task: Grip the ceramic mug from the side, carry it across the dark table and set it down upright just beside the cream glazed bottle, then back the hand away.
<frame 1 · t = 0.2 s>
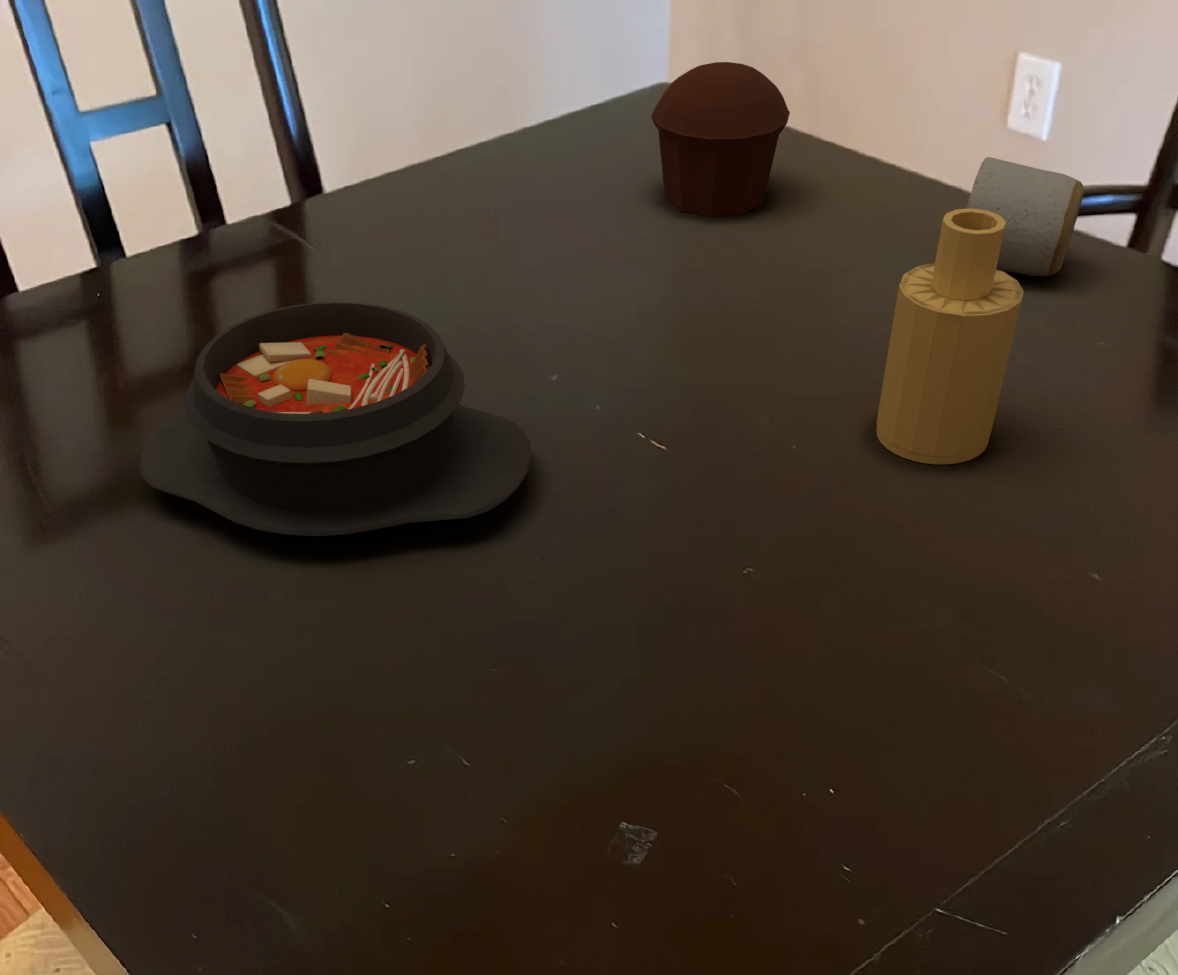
bottle: (931, 435, 90), on the table
muffin: (715, 198, 117), on the table
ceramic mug: (1007, 263, 108), on the table
casserole: (340, 482, 87), on the table
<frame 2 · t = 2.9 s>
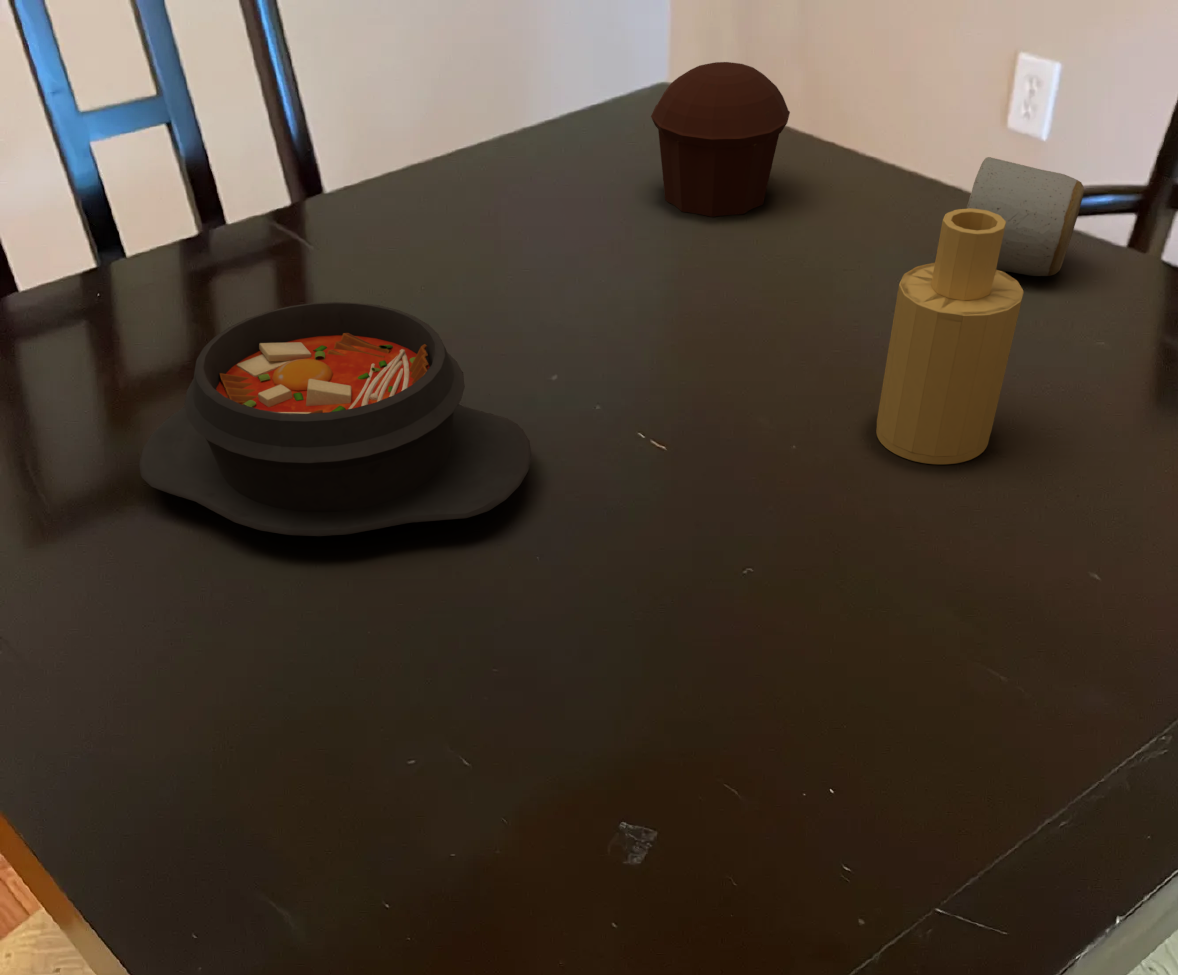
nothing on the table moved.
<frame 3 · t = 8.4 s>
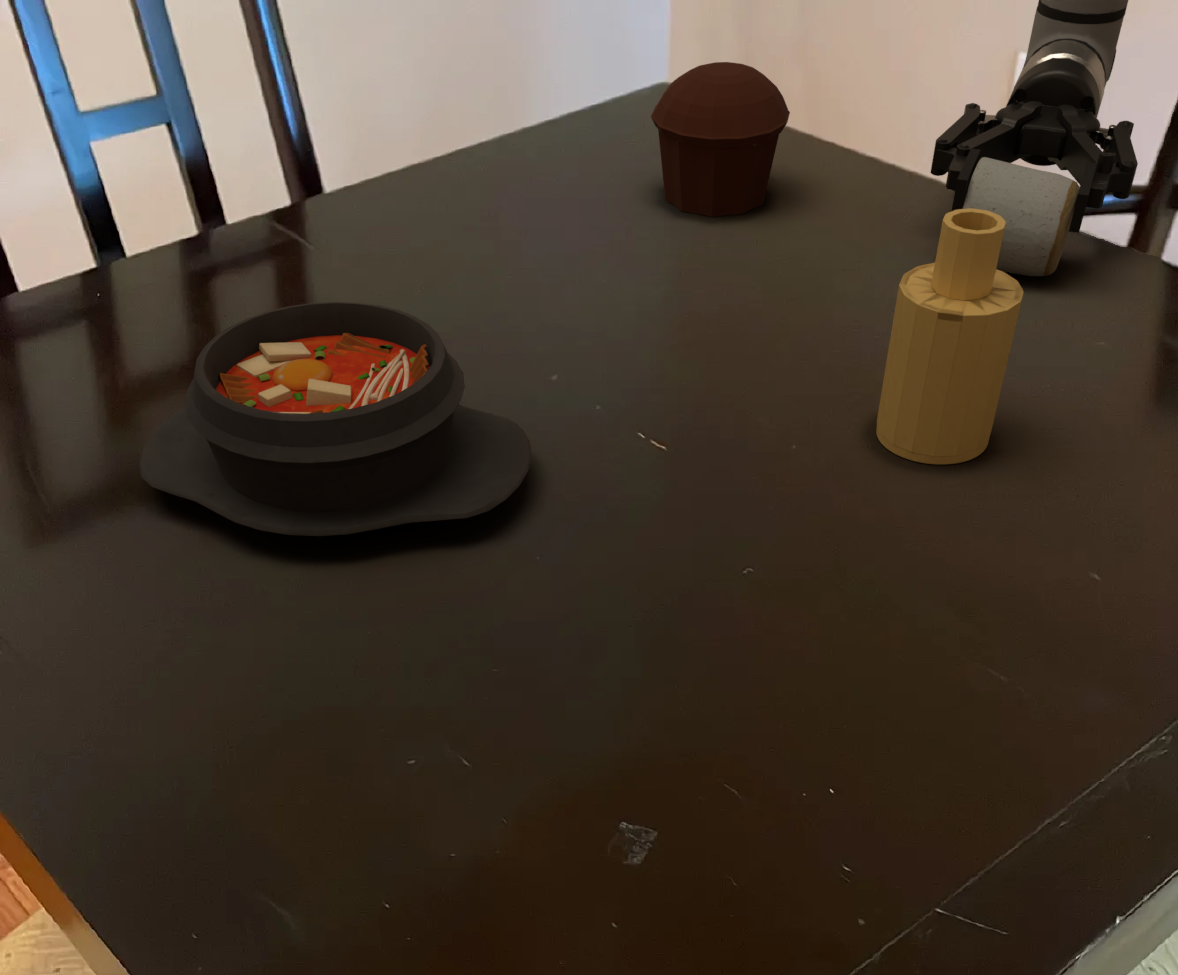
hand: (1018, 206, 100), 6 cm above the table, tool horizontal, fingers closed on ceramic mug, 8 cm apart
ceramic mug: (1003, 263, 108), on the table, touching gripper
everything else where it was.
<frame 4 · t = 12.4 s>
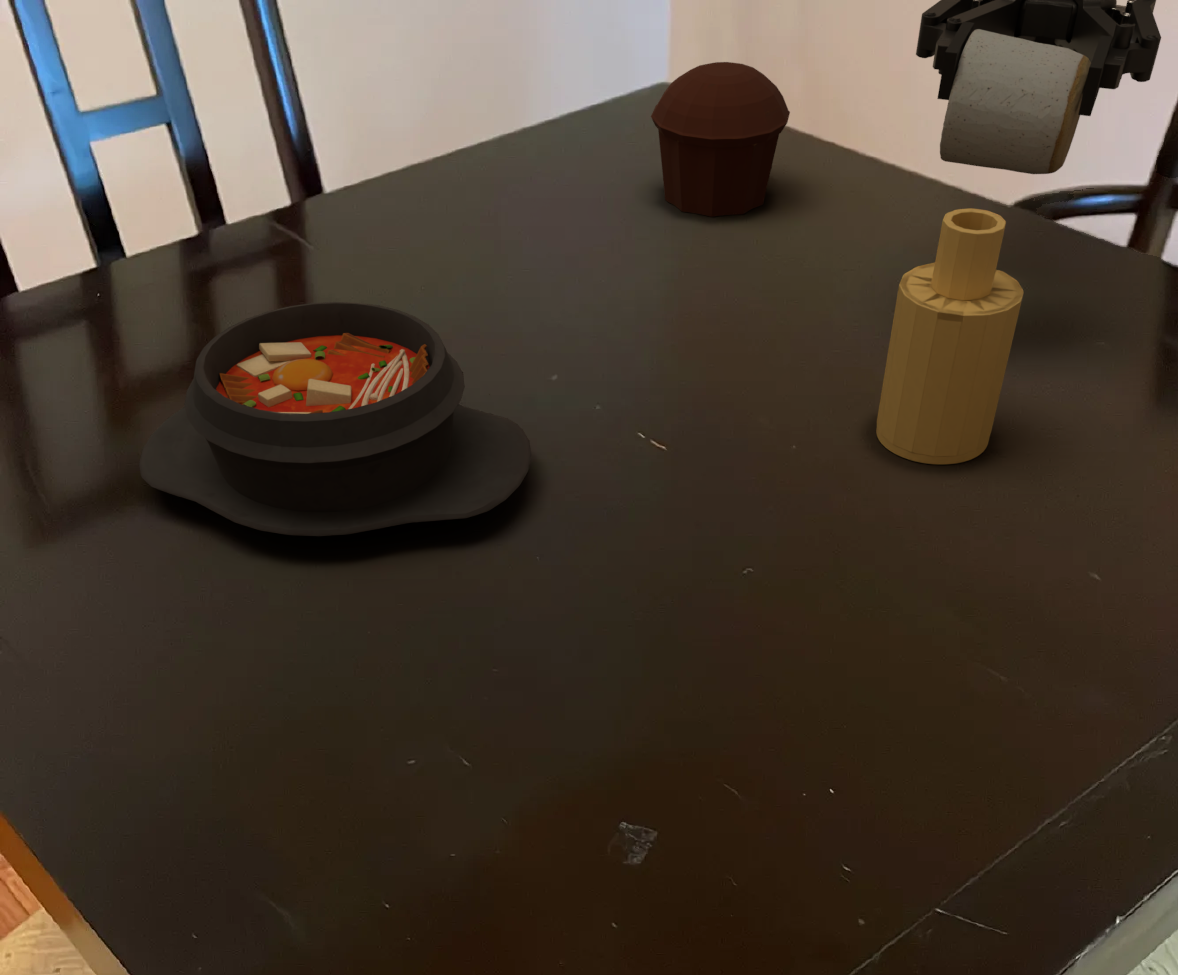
hand: (1017, 84, 84), 18 cm above the table, tool horizontal, fingers closed on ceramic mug, 8 cm apart
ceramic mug: (1001, 161, 92), point 12 cm above the table, touching gripper
everything else where it was.
when the fingers open (6 cm above the table, at t = 16.6 s): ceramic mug stays where it is, on the table.
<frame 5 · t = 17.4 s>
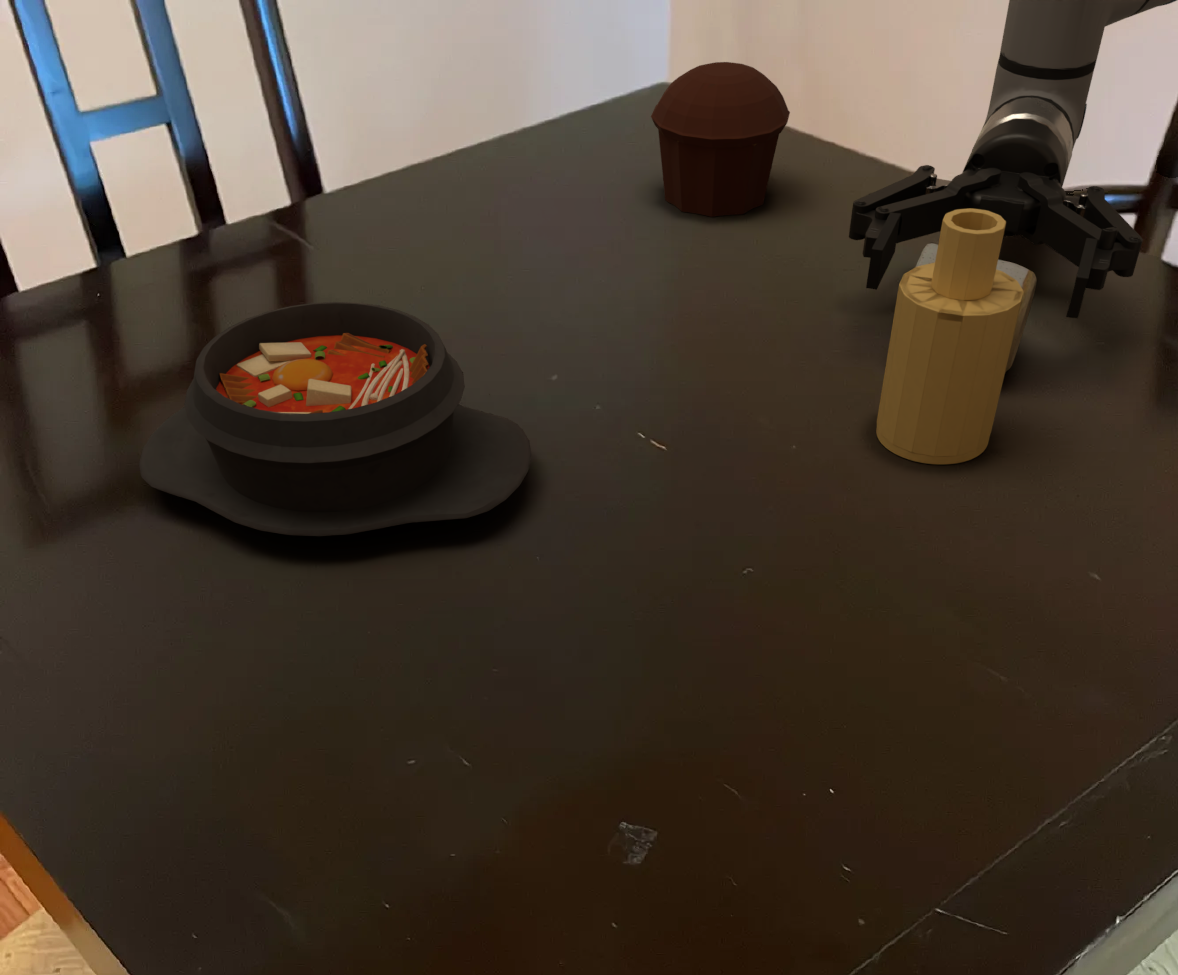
hand: (973, 284, 91), 6 cm above the table, tool horizontal, fingers open, 13 cm apart
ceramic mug: (954, 356, 97), on the table
everything else where it was.
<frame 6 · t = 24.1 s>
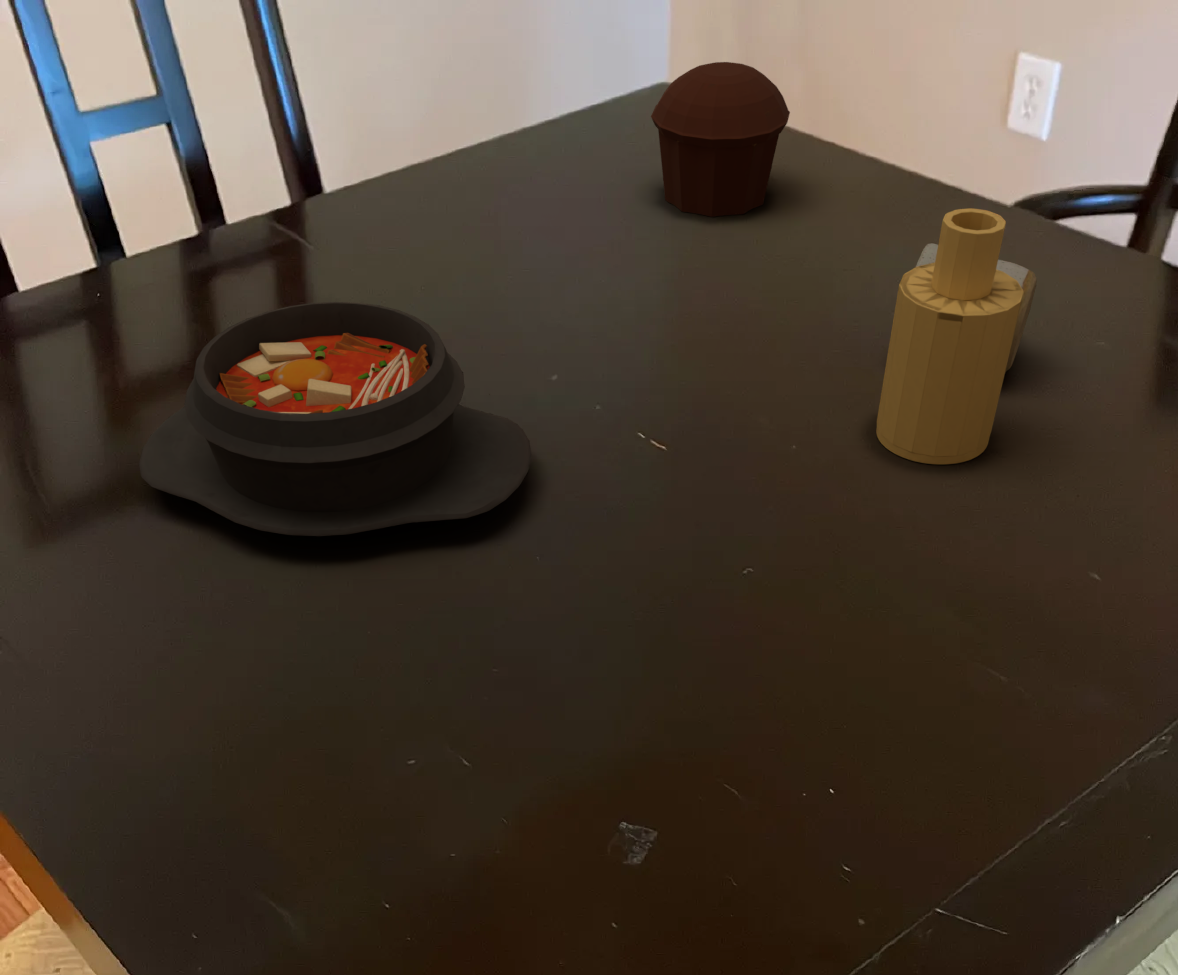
nothing on the table moved.
at the end: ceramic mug inside the target area on the table beside the bottle (0.7 cm from its centre), on the table; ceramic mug tilted 0°; the gripper is holding nothing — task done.
